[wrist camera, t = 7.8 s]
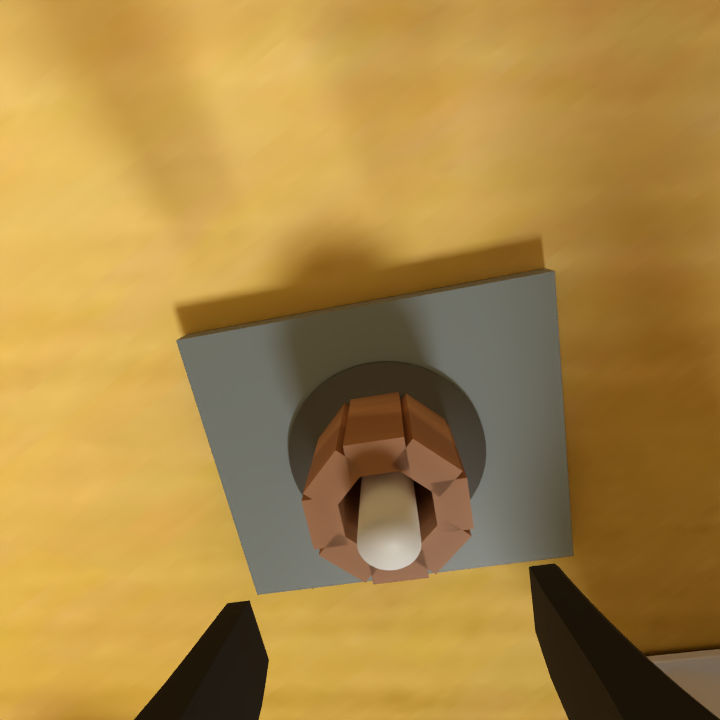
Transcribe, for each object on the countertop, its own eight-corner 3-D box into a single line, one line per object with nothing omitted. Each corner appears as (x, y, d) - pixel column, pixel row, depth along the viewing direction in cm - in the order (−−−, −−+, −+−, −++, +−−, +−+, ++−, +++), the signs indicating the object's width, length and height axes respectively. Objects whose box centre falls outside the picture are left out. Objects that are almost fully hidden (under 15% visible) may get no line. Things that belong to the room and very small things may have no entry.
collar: (443, 384, 18) (460, 428, 14) (460, 503, 19) (479, 571, 16) (308, 406, 18) (289, 454, 15) (335, 519, 20) (324, 589, 16)
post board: (545, 268, 18) (638, 293, 11) (564, 541, 21) (643, 675, 15) (186, 334, 19) (90, 389, 13) (262, 579, 23) (217, 716, 16)
